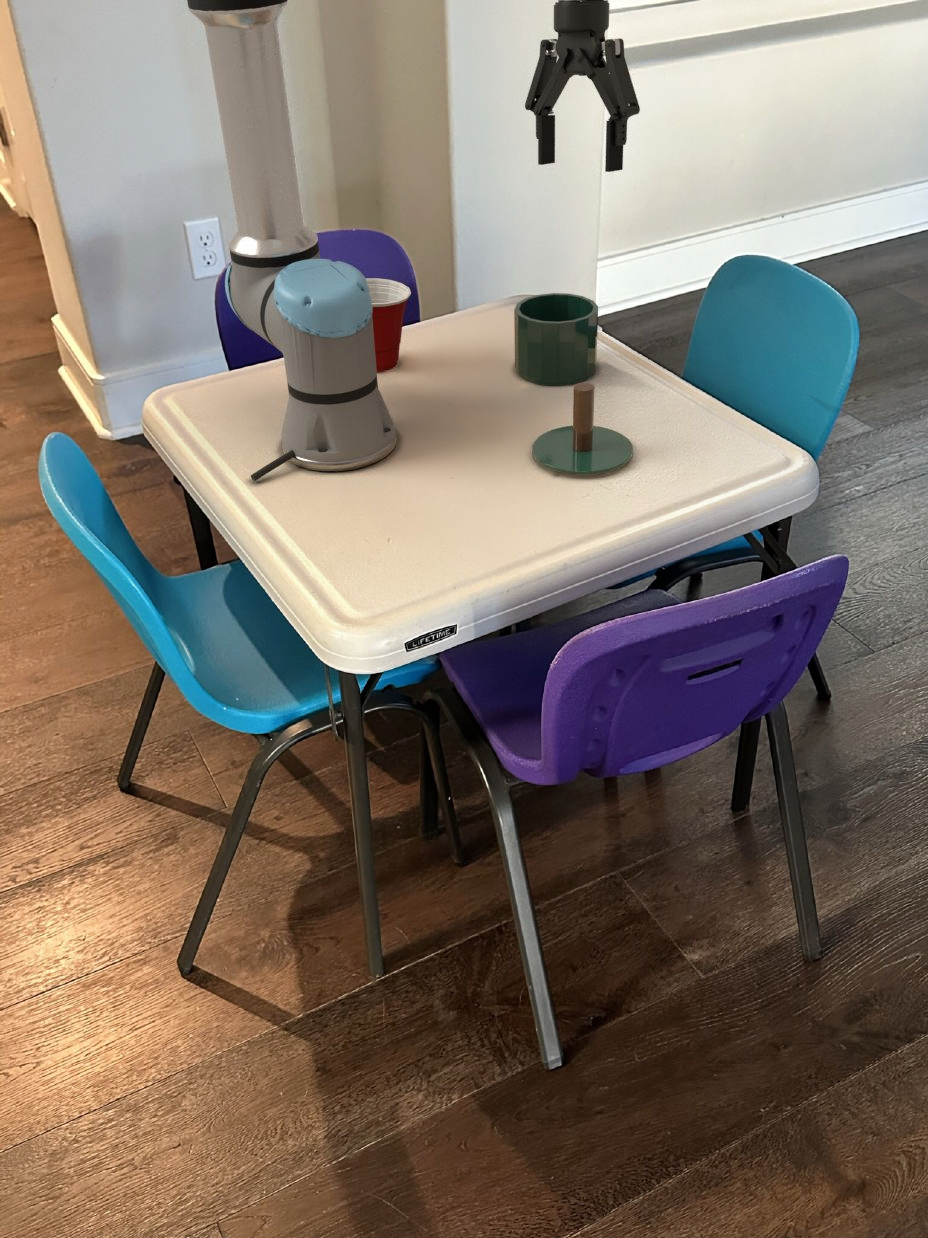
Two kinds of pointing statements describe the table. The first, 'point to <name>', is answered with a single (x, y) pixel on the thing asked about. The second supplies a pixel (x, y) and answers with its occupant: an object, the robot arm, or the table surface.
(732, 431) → the table surface
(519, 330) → the pot
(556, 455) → the lid
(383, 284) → the plastic cup
